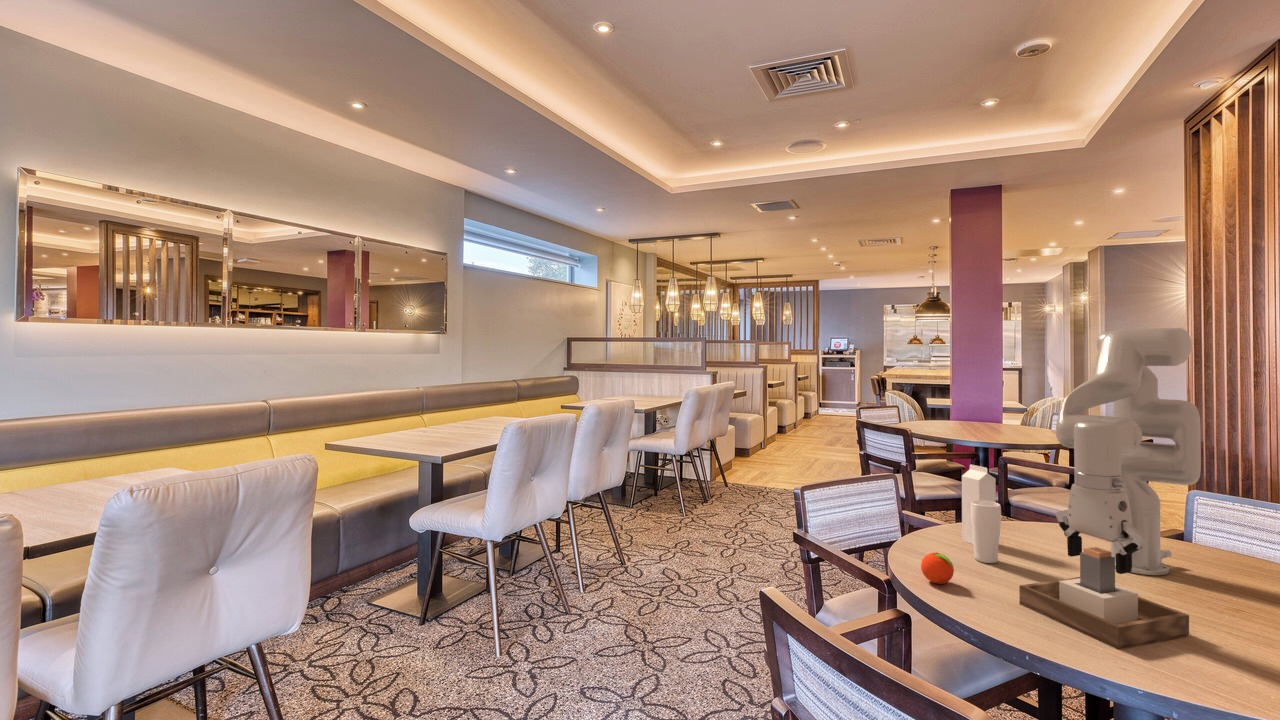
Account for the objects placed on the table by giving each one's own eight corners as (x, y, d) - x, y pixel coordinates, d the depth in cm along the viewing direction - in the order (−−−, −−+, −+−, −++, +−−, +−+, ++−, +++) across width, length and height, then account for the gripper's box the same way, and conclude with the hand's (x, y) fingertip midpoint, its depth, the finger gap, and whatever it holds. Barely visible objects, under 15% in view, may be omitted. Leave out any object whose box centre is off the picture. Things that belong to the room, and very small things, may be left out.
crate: (1083, 594, 128) (1083, 576, 128) (1189, 636, 109) (1189, 615, 109) (1019, 603, 124) (1019, 585, 124) (1118, 649, 104) (1118, 627, 104)
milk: (979, 547, 160) (978, 468, 160) (961, 540, 166) (961, 464, 166) (996, 545, 162) (995, 467, 162) (978, 538, 168) (977, 463, 168)
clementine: (965, 587, 133) (964, 556, 133) (943, 592, 130) (943, 561, 130) (935, 575, 140) (935, 546, 140) (914, 579, 137) (914, 550, 137)
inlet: (1091, 601, 123) (1091, 576, 123) (1137, 620, 114) (1137, 593, 114) (1059, 606, 121) (1059, 581, 121) (1103, 626, 112) (1103, 598, 112)
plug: (1095, 598, 120) (1094, 546, 120) (1115, 606, 116) (1115, 552, 116) (1080, 600, 119) (1080, 547, 119) (1100, 608, 115) (1099, 554, 115)
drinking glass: (1005, 566, 146) (1005, 507, 146) (976, 564, 147) (976, 506, 147) (994, 556, 152) (994, 500, 152) (967, 555, 154) (966, 499, 154)
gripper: (1158, 489, 110) (1159, 577, 111) (1069, 471, 127) (1070, 547, 127) (1129, 493, 108) (1130, 582, 109) (1043, 474, 125) (1044, 551, 125)
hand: (1098, 563), depth 118 cm, fingers open, 9 cm apart
